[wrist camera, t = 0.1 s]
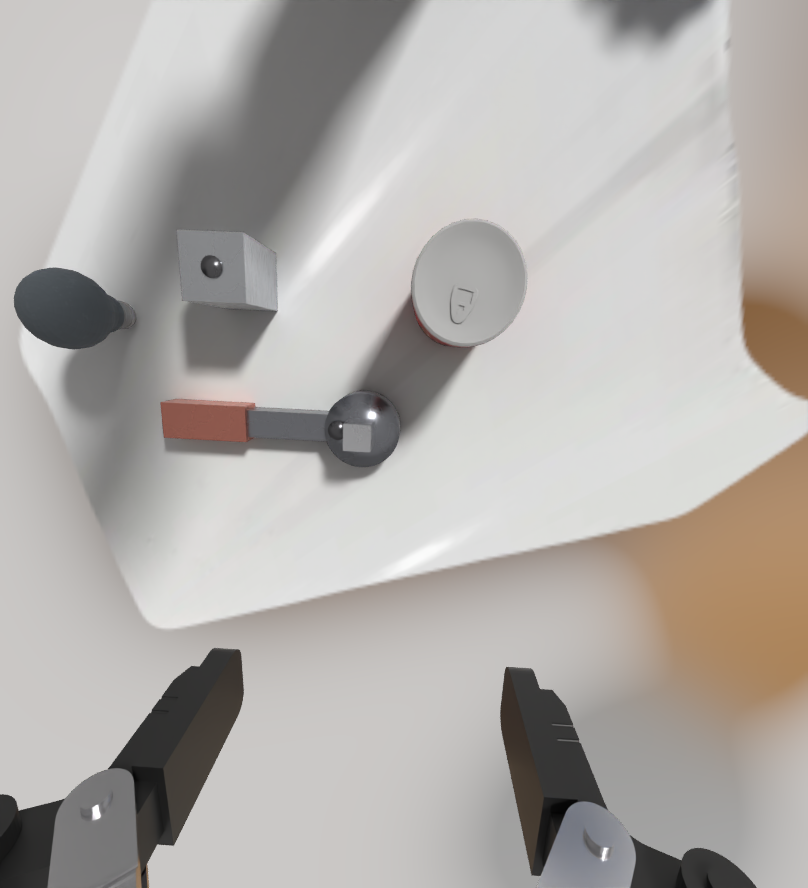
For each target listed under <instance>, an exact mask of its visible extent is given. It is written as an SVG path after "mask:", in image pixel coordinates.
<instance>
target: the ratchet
mask: <svg viewBox="0 0 808 888" xmlns="http://www.w3.org/2000/svg"><path fill="white" fill-rule="evenodd" d="M161 412H162V423H163V433H164V438H181V439H199V440H217V441H236V442H248V441H249V440H251V439H253V438H255V437H256V438H274V439H292V440H311V441H327V444H328V446H329V448H330V449H331V451H332V452H333V453H334V454H335V455H336V456H337V457H338V458H339V459H340V460H342V461H343V462H345V463H347V464H350V465H353V466H357V467H369V466H373V465H376V464H379V463H381V462H383V461H384V460H385V459H387V458H388V457H389V456H390V455H391V454H392V452H393V451H394V449H395V447H396V445H397V443H398V439H399V434H400V428H401V426H400V418H399V414H398V412H397V410H396V408H395V407H394V405H393V404H392V403H391V402H390V401H389V400H388V399H387V398H386V397H384V396H383V395H381V394H379V393H376V392H373V391H356V392H353V393H350V394H348V395H346V396H345V397H343V398H342V399H340V400H339V401H338V402H336V403H335V404H334V405H333V407H332V408H331V409H330V411H320V410H301V409H282V408H263V407H255V403H244V402H224V401H205V400H186V399H173V400H168V401H164V402H161Z"/></svg>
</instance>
